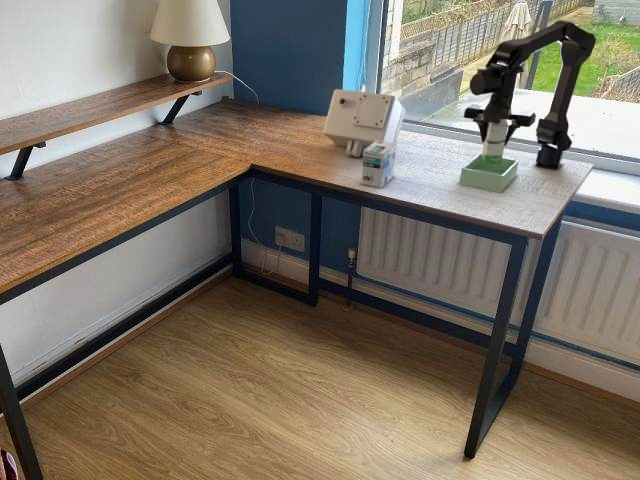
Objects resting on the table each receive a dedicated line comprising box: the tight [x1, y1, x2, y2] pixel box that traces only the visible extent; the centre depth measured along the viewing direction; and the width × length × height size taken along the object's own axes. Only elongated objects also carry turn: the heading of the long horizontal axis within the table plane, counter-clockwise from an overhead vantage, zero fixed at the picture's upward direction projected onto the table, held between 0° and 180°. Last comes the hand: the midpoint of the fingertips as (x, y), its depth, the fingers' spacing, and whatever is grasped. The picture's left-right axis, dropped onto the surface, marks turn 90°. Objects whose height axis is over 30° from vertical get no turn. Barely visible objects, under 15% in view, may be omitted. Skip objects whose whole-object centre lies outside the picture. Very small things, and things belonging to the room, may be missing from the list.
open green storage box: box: [458, 152, 520, 193], centre depth 180 cm, size 12×15×5 cm
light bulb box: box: [361, 140, 397, 189], centre depth 181 cm, size 11×7×11 cm, turn 148°
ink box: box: [482, 119, 509, 164], centre depth 176 cm, size 9×5×12 cm, turn 165°
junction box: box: [322, 88, 406, 158], centre depth 202 cm, size 24×15×22 cm
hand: (494, 144), depth 176 cm, fingers closed on ink box, 6 cm apart
